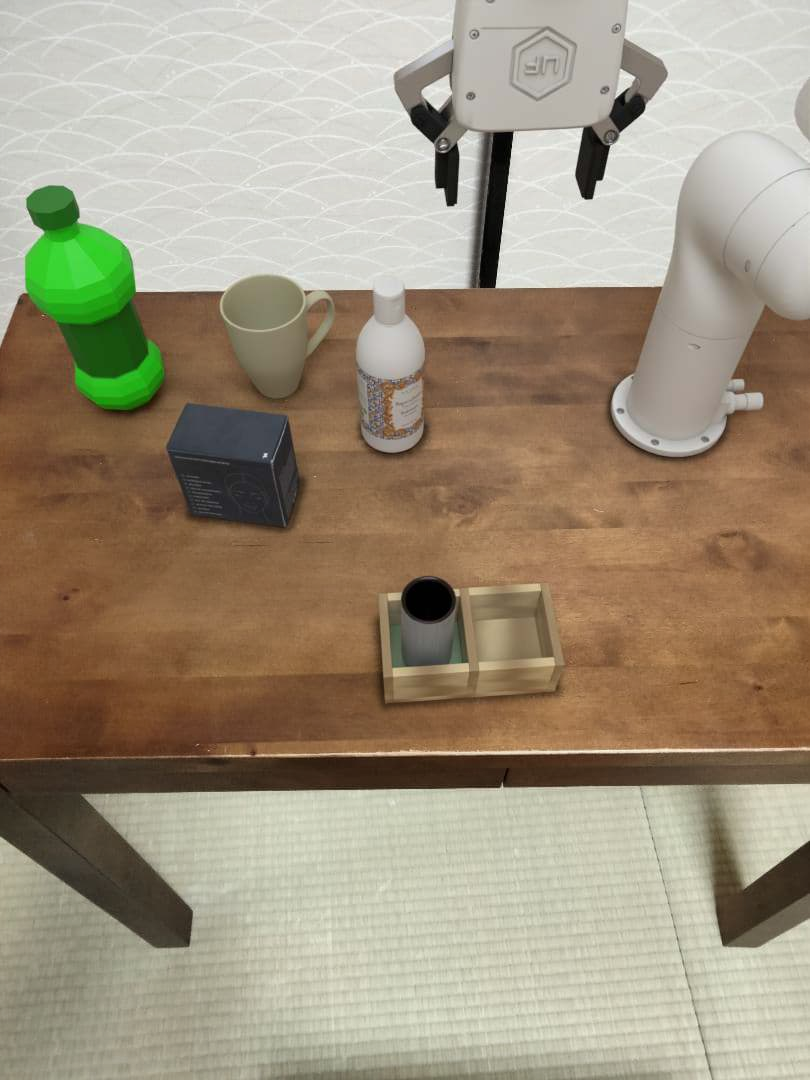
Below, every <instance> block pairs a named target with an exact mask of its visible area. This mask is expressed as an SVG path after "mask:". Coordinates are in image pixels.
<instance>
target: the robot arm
mask: <svg viewBox="0 0 810 1080" xmlns="http://www.w3.org/2000/svg"><path fill="white" fill-rule="evenodd" d="M628 7H629V0H455V5H454V11H453V12H454V13H453V20H452V21H453V22H452V31H451V39H450V40H448V41H446V42H444V43H442V44H441V45H439V46H437V47H435V48H433V50H430V51H428V52H427V53H425V54H424V55H422V56H420V57H418V58H416V59H415V60H413V61H411V62H410V63H408V64H407V65H404V66H403V67H401V68H399V69H398V70H396V71H395V72H394V75H393V87H394V91H395V93H396V95H397V97H398V99H399V100H400V103H401V104H402V107H403V108H404V110H405V112H406V113H407V115H408V116H409V118H410V122H411V124H412V125H413V127H415V128H416V129H417V130H418V131H419V132H420V133H421V134H422V135H423V136H424V137H425V138H427V139H428V141H429V142H431V143H432V144H433V146H434V185H435V189H436V190H439V189H443V192H444V198H445V204H446V207H448V208H449V207H455V205H458V197H459V196H458V195H459V178H460V177H459V175H460V157H461V156H460V150H459V149H460V148H459V144H458V142H459V141H460V139H461V138H463V136H464V135H465V134H466V133H467V132H468V131H470V132H474V133H507V132H509V133H511V132H512V133H513V132H532V131H533V132H534V131H535V132H536V131H553V130H569V129H570V130H571V129H582V133H581V140H580V145H579V149H578V154H577V162H576V165H575V172H574V177H575V181H576V183H577V186H578V191H579V193H580V197H581V199H584V200H585V201H591V200H593V199H594V196H595V192H596V187H597V182H602V181H603V180H604V176H605V173H606V169H607V168H606V167H607V165H608V164H607V163H608V158H609V154H610V151H611V146H613V145H614V144H616V143H617V142H618V141H619V139H620V137H621V133H622V132H623V131H624V130H626V129H627V128H628V127H629V126H630V125H631V124H633V122H635V121H637V119H638V118H640V117H641V116H642V115H643V114H644V112H645V111H646V108H647V107H646V106H647V104H648V103H649V101H652V99H653V98H654V97H655V95H656V94H657V92H658V91H659V90H660V88H661V87H662V86H663V84H664V83H665V81H667V78H668V77H669V72H668V69H667V68H666V65H665V63H664V61H663V60H662V58H660V57H658V56H656V55H654V54H653V53H651V52H649V51H647V50H645V49H644V48H642V47H641V46H639V45H638V44H635V43H634V42H632V41H630V40H629V39H627V38H625V36H626V27H627V17H628V9H629V8H628ZM621 70H622V71H624V72H626V73H628V74H630V75H631V76H633V77H634V79H633V81H632V82H631V85H630V86H629V87H627V88H626V89H625V90H623V91H622V92H621V93H620V94H619V95H618V96H617V90H618V86H619V85H618V84H619V79H620V75H621V74H620V73H621ZM446 76H448V78H449V79H448V80H449V88H450V92H451V94H450V95H449V96H448V98H447V99H446V100H445V101H444V102H443V104H441V106H440V107H439V108H438V110H437V109H436V107H434V106H433V105H432V104H431V103H430V102H429V101H428V100H427V99H426V98H425V97H424V95H423V93H422V91H423V90H424V89H425V88H427V87H429V86H431V85H432V84H434V83H435V82H436V83H437V82H438V81H440V80H441V79H443V78H444V77H446ZM616 96H617V97H616ZM793 112H794V113H793V114H794V118H795V122H796V123H795V124H796V125H797V127H798V129H799V131H800V132H801V134H802V135H803V136H804V138H806V140H807V141H808V142H809V143H810V76H809V77H808V79H807V80H806V81H804V84H803V85H802V86H801V88H800V90H799V92H798V94H797V97H796V99H795V104H794V110H793ZM675 214H676V215H675V224H674V225H675V227H674V237H673V238H674V239H673V245H672V251H671V256H670V260H669V263H668V268H667V271H666V274H665V278H664V280H663V284H662V288H661V291H660V293H659V296H658V298H657V302H656V306H655V308H654V311H653V315H652V318H651V321H650V324H649V327H648V331H647V334H646V337H645V340H644V343H643V346H642V349H641V351H640V356H639V358H638V361H637V364H636V368H635V371H634V372H633V373H632V374H630V375H628V376H626V377H625V378H624V379H622V380H621V381H620V382H619V383H618V385H617V387H616V388H615V389H614V392H613V394H612V398H611V401H610V415H611V419H612V421H613V423H614V425H615V427H616V429H617V430H618V431H619V432H620V434H621V435H622V436H623V437H624V438H625V439H627V441H629V442H630V443H631V444H633V445H634V446H636V447H638V448H640V449H642V450H644V451H646V452H648V453H651V454H655V455H658V456H661V457H662V456H663V457H669V458H684V457H692V456H695V455H699V454H701V453H704V452H706V451H707V450H709V449H710V448H712V447H713V446H714V445H716V443H717V442H718V441H719V439H720V438H721V437H722V435H723V433H724V430H725V428H726V424H727V415H733V414H734V412H735V411H743V412H746V411H747V412H748V411H760V410H762V408H763V406H764V395H763V393H762V392H744V393H740V394H739V393H738V394H735V393H736V392H743V391H744V390H745V385H746V384H745V380H744V379H743V378H737V379H735V378H734V379H733V376H734V373H735V371H736V370H737V367H738V365H739V362H740V360H741V358H742V356H743V354H744V352H745V350H746V348H747V345H748V343H749V341H750V339H751V337H752V334H753V332H754V330H755V328H756V326H757V324H758V323H759V320H760V317H761V315H762V313H763V311H764V309H765V306H766V307H768V308H769V309H770V310H771V311H772V312H774V313H775V314H776V315H778V316H780V317H782V318H783V319H787V320H791V321H805V320H810V162H809V161H807V160H806V159H805V158H804V157H802V156H801V155H800V154H799V153H798V152H796V151H795V150H794V149H792V148H791V147H790V146H788V145H787V144H786V143H784V142H783V141H781V140H779V139H777V138H776V137H773V136H772V135H770V134H767V133H765V132H761V131H758V130H757V131H756V130H738V131H734V132H732V131H731V132H730V133H727V134H724V135H722V136H720V137H718V138H716V139H715V140H714V141H712V142H711V143H710V144H708V145H707V146H706V147H705V148H704V149H702V151H701V152H700V153H699V154H698V155H697V156H696V158H695V160H694V161H693V162H692V164H691V165H690V167H689V169H688V171H687V172H686V175H685V177H684V180H683V182H682V185H681V188H680V192H679V196H678V200H677V206H676V213H675Z"/></svg>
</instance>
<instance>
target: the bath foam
mask: <svg viewBox="0 0 810 1080" xmlns="http://www.w3.org/2000/svg"><path fill="white" fill-rule="evenodd" d="M372 299H373V300H372V301H373V302H372V303H373V304H372V305H373V315H372V316H371V317H370V318H369V319H368V320H367V321H366V323H364V325H363V327H362V328H361V330H360V332H359V335H358V337H357V341H356V347H355V365H356V366H355V367H356V379H357V389H358V390H357V393H358V406H359V420H360V430H361V435H362V437H363V439H364V441H365V442H366V443H367V444H368V445H369V446H370V447H372V448H373V449H374V450H377V451H379V452H383V453H388V454H389V453H390V454H395V453H402V452H405V451H407V450H410V449H411V448H412V447H414V446H416V445H417V443H419V442H420V440H421V438H422V437H423V434H424V424H425V423H424V422H425V393H426V392H425V391H426V389H425V387H426V386H425V384H426V347H425V343H424V339H423V336H422V334H421V331H420V329H419V328H418V326H417V325H416V323H415V322H414V321H413V320H412V319H411V317H409V316H408V315H407V314H406V287H405V283H404V281H402V279H400V278H399V277H396V276H392V275H385V276H382V277H379V278H378V279H376V280H375V281H374V283H373V285H372Z"/></svg>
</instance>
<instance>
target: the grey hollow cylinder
mask: <svg viewBox="0 0 810 1080" xmlns="http://www.w3.org/2000/svg"><path fill="white" fill-rule="evenodd" d="M453 589H454V588H453V587H452V585H451V584H450V583H448V581H446V580H445V579H443V578H440V577H438V576H435V575H434V576H433V575H422V576H418V577H416V578H414V579H412V580H410V581H409V582H408V583H407V584H406V585H405V586H404V588H403V589H402V591H401V592H402V595H401V634H402V656H403V660H404V663H405V665H406V666H407V667H416V666H431V665H445V664H449V662H450V659H451V654H452V643H453V633H454V622H455V612H456V595H455V592H454V590H453Z"/></svg>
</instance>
